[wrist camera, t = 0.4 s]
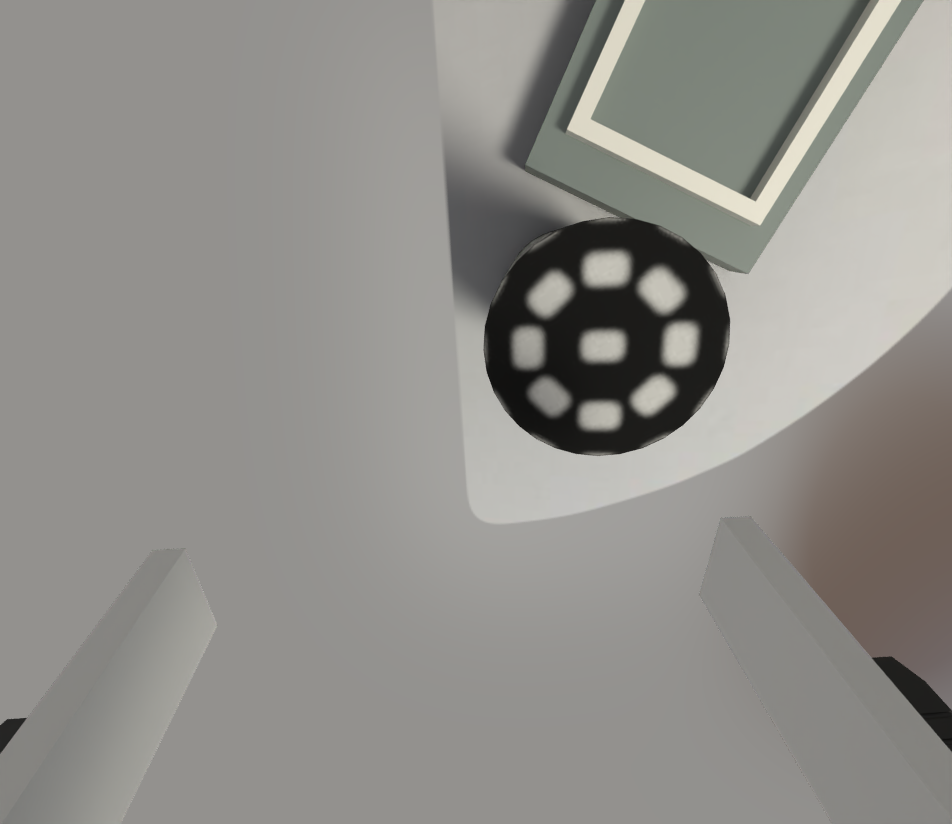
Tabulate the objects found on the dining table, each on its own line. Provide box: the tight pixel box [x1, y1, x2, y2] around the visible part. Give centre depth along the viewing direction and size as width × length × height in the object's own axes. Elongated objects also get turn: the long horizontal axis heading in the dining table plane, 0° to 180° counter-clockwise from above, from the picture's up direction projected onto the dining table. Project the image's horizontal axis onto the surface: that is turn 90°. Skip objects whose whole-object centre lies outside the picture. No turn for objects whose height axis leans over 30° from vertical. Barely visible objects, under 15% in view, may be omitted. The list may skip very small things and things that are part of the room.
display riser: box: [525, 0, 924, 274], centre depth 28 cm, size 18×16×4 cm
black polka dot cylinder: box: [484, 217, 730, 456], centre depth 26 cm, size 8×8×20 cm
